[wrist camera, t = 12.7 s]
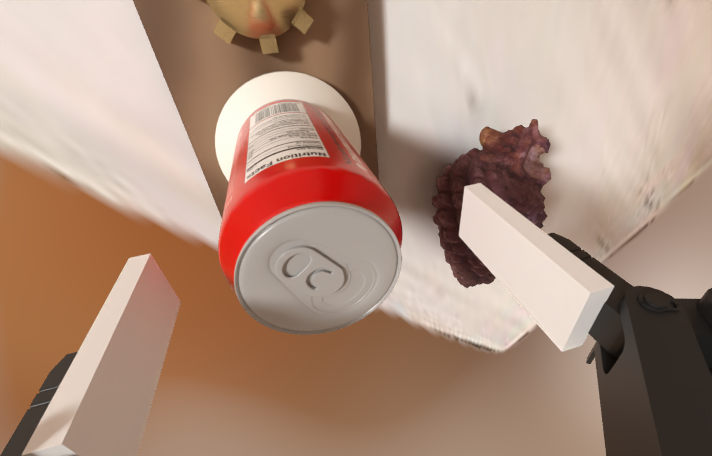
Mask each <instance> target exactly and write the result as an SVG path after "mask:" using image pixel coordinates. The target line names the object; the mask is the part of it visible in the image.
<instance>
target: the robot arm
mask: <svg viewBox="0 0 712 456" xmlns="http://www.w3.org/2000/svg"><path fill="white" fill-rule="evenodd" d="M459 237H460V238H461V239H462V240H463V241H464V242H465V243H466V245H467V246H468V247H469V248H470V249H471V250H472V251H473V252H474V254H475V255H476V256H477V257H478V258H479V259H480V260H481V261H482V263H483V264H484V265H485V266H486V267H487V268H488V269H489V270H490V272H491V273H492V274H493V275H494V276H495V277H496V278H497V279H498V281H499V282H500V283H501V284H502V285H503V286H504V287H505V288H506V289H507V291H508V292H509V293H510V294H511V295H512V296H513V297H514V298H515V300H516V301H517V302H518V303H519V304H520V305H521V306H522V307H523V309H524V310H525V311H526V312H527V313H528V314H529V315H530V316H531V318H532V319H533V320H534V321H535V322H536V323H537V324H538V325H539V327H540V328H541V329H542V330H543V331H544V332H545V333H546V334H547V336H548V337H549V338H550V339H551V340H552V341H553V342H554V343H555V345H556V346H557V347H558V348H559V349H560V350H561V351H566V350H569V349H572V348H575V347H579V346H582V345H583V343H584V341H585V339H586V337H587V336H588V334H590V335H591V336H592V337H593V338H594V339H595V340H596V341H597V342H596V343H595V345H594V347H593V349H592V350H591V352H590V354H589V355H588V357H587V362H586V363H588V364H591V362H592V360H593V359H594V357H595V361H596V369H597V378H598V385H599V386H598V387H599V395H600V404H601V413H602V422H603V430H604V439H605V448H606V456H712V288H711V289H709V290H707V292H706V293H705V294H704V296H703V297H702V298H701V299H674V298H673V297H672V296H670V295H668V294H666V293H664V292H662V291H660V290H657V289H653V288H651V287H643V286H636V287H633V286H632V285H630V284H629V283H628V282H626V281H625V280H623V279H622V278H621V277H619V276H618V275H617V274H615V273H614V272H613V271H611V270H610V269H608V268H607V267H606V266H604V265H603V264H602V263H600V262H599V261H597V260H596V259H595V258H591V255H589V254H588V253H587V252H585V251H584V250H581V248H580V247H578V246H577V245H576V244H574V243H573V242H572V241H570V240H569V239H567V238H564V237H562V236H560V235H557V234H555V233H550V234H546V233H545V232H543V231H542V230H541V229H540V228H538V227H537V226H536V225H534V224H533V223H532V222H530V221H529V220H528V219H527V218H525V217H524V216H523V215H521V214H520V213H519V212H517V211H516V210H515V209H514V208H512V207H511V206H510V205H508V204H507V203H506V202H504V201H503V200H502V199H501V198H499V197H498V196H497V195H495V194H494V193H493V192H491V191H490V190H489V189H488V188H486V187H485V186H484V185H482V184H481V183H477V184H473V185H468V186H465V187H464V195H463V204H462V212H461V220H460V229H459ZM180 303H181V302H180V300H179V298H178V297H177V295H176V294H175V292H174V291H173V289H172V287H171V286H170V284H169V282H168V281H167V279H166V278H165V276H164V274H163V273H162V271H161V270H160V268H159V266H158V265H157V263H156V262H155V260H154V258H153V257H152V255H151V254H146V255H142V256H137V257H132V258H129V259H128V261H127V263H126V265H125V267H124V269H123V270H122V272H121V274H120V276H119V278H118V280H117V281H116V283H115V285H114V287H113V289H112V290H111V292H110V294H109V296H108V298H107V300H106V302H105V303H104V305H103V307H102V309H101V311H100V312H99V314H98V316H97V318H96V320H95V322H94V323H93V325H92V327H91V329H90V331H89V333H88V335H87V336H86V338H85V340H84V342H83V344H82V345H81V347H80V349H79V351H78V352H75V353H71V354H68V355H66V356H65V357H64V358H63V359H62V360H61V361H60V362H59V363H58V365H56V366H55V367H54V368H53V369H52V371H51V372H50V373H49V375H48V376H47V378H46V380H45V381H44V383H43V385H42V386H41V388H40V390H39V391H40V393H39V394H37V395H36V397H35V398H34V400H33V402H32V403H31V408H30V409H28V410H27V412H26V413H25V415H24V417H23V418H22V420H21V422H20V423H19V425H18V427H17V429H16V430H15V432H14V434H13V435H12V437H11V439H10V440H9V442H8V444H7V445H6V447H5V449H4V450H3V452H2V454H1V455H0V456H137V454H138V450H139V447H140V444H141V440H142V437H143V433H144V429H145V426H146V423H147V419H148V415H149V412H150V408H151V405H152V401H153V398H154V394H155V391H156V387H157V383H158V380H159V376H160V373H161V370H162V366H163V363H164V359H165V356H166V352H167V349H168V345H169V342H170V338H171V334H172V331H173V327H174V324H175V320H176V317H177V313H178V310H179V306H180Z"/></svg>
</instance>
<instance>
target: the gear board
mask: <svg viewBox="0 0 712 456" xmlns="http://www.w3.org/2000/svg"><path fill="white" fill-rule="evenodd" d="M133 2H134V4H135V7H136V9H137V11H138V14H139V16H140V19H141V21H142V24H143V26H144V29H145V31H146V34H147V36H148V38H149V41H150V43H151V46H152V48H153V51H154V53H155V56H156V58H157V60H158V63H159V65H160V68H161V70H162V73H163V75H164V78H165V80H166V82H167V85H168V87H169V90H170V92H171V95H172V97H173V100H174V102H175V105H176V107H177V109H178V112H179V114H180V117H181V119H182V122H183V124H184V127H185V129H186V131H187V134H188V136H189V139H190V141H191V144H192V146H193V149H194V151H195V154H196V156H197V158H198V161H199V163H200V166H201V168H202V171H203V173H204V176H205V178H206V180H207V183H208V185H209V188H210V190H211V193H212V195H213V198H214V200H215V203H216V205H217V207H218V210H219V212H220V215H221V217H223V211H224V206H225V201H226V195H227V190H228V184H229V182H228V180H227V179H226V177H225V175H224V174H223V172H222V170H221V167H220V165H219V162H218V159H217V155H216V148H215V133H216V126H217V123H218V119H219V116H220V114H221V112H222V109H223V107H224V105H225V104H226V102H227V101H228V99H229V98H230V96H231V95H232V94H233V93H234V92H235V91H236V90H237V89H238V88H239V87H240V86H242V85H243V84H244V83H245V82H247V81H249V80H251V79H252V78H254V77H257V76H259V75H262V74H265V73H269V72H274V71H296V72H301V73H306V74H308V75H311V76H314V77H316V78H318V79H320V80H322V81H324V82H325V83H327V84H328V85H329V86H331V87H332V88H333V89H335V90H336V91H337V92H338V93H339V94H340V95H341V96H342V97H343V98H344V100H345V101H346V102H347V103H348V105H349V106H350V108H351V110H352V111H353V113H354V116H355V118H356V120H357V123H358V126H359V130H360V137H361V152H360V157H361V158H362V160H363V161H364V162H365V164H366V165H367V166H368V167H369V169H370V170H371V171H372V173H373V174H374V175H375V177H376V178H377V179H378V181H379V177H378V162H377V146H376V131H375V115H374V100H373V84H372V69H371V53H370V38H369V22H368V7H367V0H305V4H304V7H303V10H304V11H305V12H306V13H307V14H308V15H309V16H310V17H311V18H312V19H313V22H312V24H311V25H310V27H309V29H308V30H307V32H306V34H305V35H304V34H302V33H300V32H299V31H298V30H297V29H296V28H295V27H294V26H292V27H291V28H290V29H288V30H287V31H286V32H284V33H283V34H281V35H279V36H276V42H277V47H278V51H279V52H277V53H270V54H263V53H262V49H261V44H260V40H259V39H255V38H250V37H247V36H244V35H241V34H239V33H238V32H237V33H236V35H235V37H234V39H233V40H232V42H231V44H228V43H227V42H225V41H224V40H223V39H221V38H220V37H219V36H217V35H216V34H215V33H213V32H214V30H215V28H216V26H217V24H218V22H219V20H220V19H219V18H218V16H217V15H216V14H215V13H214V12H213V10H212V9H211V8H210V6H209V4H208V3H207V1H206V0H133Z"/></svg>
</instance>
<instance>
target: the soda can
mask: <svg viewBox="0 0 712 456" xmlns="http://www.w3.org/2000/svg"><path fill="white" fill-rule="evenodd" d="M401 244H402V225H401V220H400V216H399V213H398V211H397V208H396V206H395V204H394V202H393V200H392V199H391V197H390V196H389V194H388V193H387V192H386V190H385V189H384V187H383V186H382V185H381V183H380V182H379V181H378V179H377V178H376V177H375V175H374V174H373V173H372V171H371V170H370V169H369V167H368V166H367V165H366V164H365V162H364V161H363V160H362V158H361V157H360V156H359V154H358V153H357V152H356V150H355V149H354V148H353V146H352V145H351V144H350V142H349V141H348V140H347V138H346V137H345V136H344V134H343V133H342V132H341V130H340V129H339V128H338V126H337V125H336V124H335V122H334V121H333V120H332V119H331V118H330V117H329V116H328V115H327V114H326V113H325V112H324V111H323V110H321V109H320V108H318V107H316V106H314V105H312V104H310V103H308V102H305V101H301V100H295V99H282V100H276V101H272V102H269V103H267V104H265V105H263V106H261V107H259V108H258V109H257V110H255V111H254V112H253V113H252V114H251V115H250V116H249V117H248V118H247V119H246V121H245V122H244V124H243V125H242V127H241V129H240V131H239V134H238V137H237V141H236V146H235V152H234V157H233V162H232V168H231V173H230V179H229V184H228V190H227V195H226V201H225V206H224V211H223V217H222V222H221V228H220V235H219V243H218V253H219V260H220V265H221V269H222V271H223V274H224V276H225V278H226V280H227V282H228V283H229V285H230V286H231V288H232V289H233V290H234V291H235V292H236V294H237V297H238V299H239V301H240V303H241V305H242V306H243V308H244V309H245V311H246V312H247V313H248V314H249V315H251V317H252V318H254V319H255V320H256V321H258V322H259V323H261V324H263V325H265V326H267V327H269V328H271V329H274V330H277V331H280V332H285V333H290V334H300V335H301V334H302V335H307V334H320V333H326V332H331V331H334V330H338V329H341V328H344V327H346V326H349V325H351V324H353V323H355V322H357V321H359V320H361V319H362V318H364V317H366V316H367V315H368V314H370V313H371V312H373V311H374V310H375V309H376V308H377V307H378V306H379V305H380V304H381V303H382V302H383V301H384V300H385V299H386V298H387V297H388V295H389V294H390V293H391V291H392V289H393V288H394V286H395V284H396V282H397V280H398V277H399V274H400V270H401V262H402V256H401Z"/></svg>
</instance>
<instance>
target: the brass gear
mask: <svg viewBox="0 0 712 456" xmlns="http://www.w3.org/2000/svg"><path fill="white" fill-rule="evenodd" d="M206 1H207V3H208V4H209V6H210V8H211V9H212V10H213V12H214V13H215V14H216V15H217V16H218V18H219V19H220V20H219V22H218V24H217V26H216V28H215V30H214V32H213V33H215V34H216V35H217V36H219V37H220V38H221V39H223V40H224V41H225V42H227V43H228V44H231V42H232V40H233V39H234V37H235V35H236V33H237V32H238V33H239V34H241V35H244V36H247V37H250V38H255V39H259V40H260V44H261V49H262V53H263V54H270V53H277V52H279V51H278V47H277V42H276V36H279V35H281V34H283V33H284V32H286V31H287V30H288V29H290V28H291V27H292V26H294V27H295V28H296V29H297V30H298V31H299V32H300V33H302V34H304V35H305V34H306V32H307V30H308V29H309V27H310V25H311V24H312V22H313V19H312V18H311V17H310V16H309V15H308V14H307V13H306V12H305V11H304V10H303V7H304V4H305V0H206Z"/></svg>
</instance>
